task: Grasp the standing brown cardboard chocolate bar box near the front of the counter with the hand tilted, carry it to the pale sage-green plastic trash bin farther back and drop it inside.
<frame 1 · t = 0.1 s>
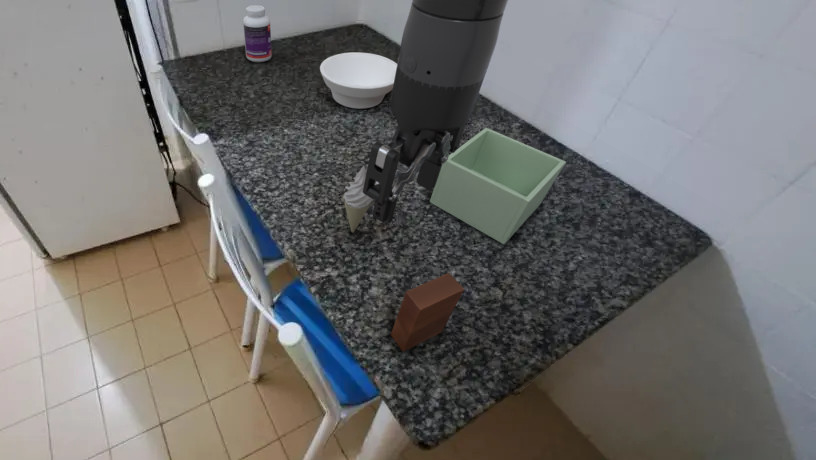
hand: (404, 201, 46), 21 cm above the table, tool pointing down, fingers open, 8 cm apart
chocolate bar: (416, 333, 57), on the table
pill bottle: (259, 59, 123), on the table
ice cream cone: (352, 232, 71), on the table
bread: (436, 123, 98), on the table
trash bin: (484, 203, 77), on the table
bowl: (357, 99, 106), on the table
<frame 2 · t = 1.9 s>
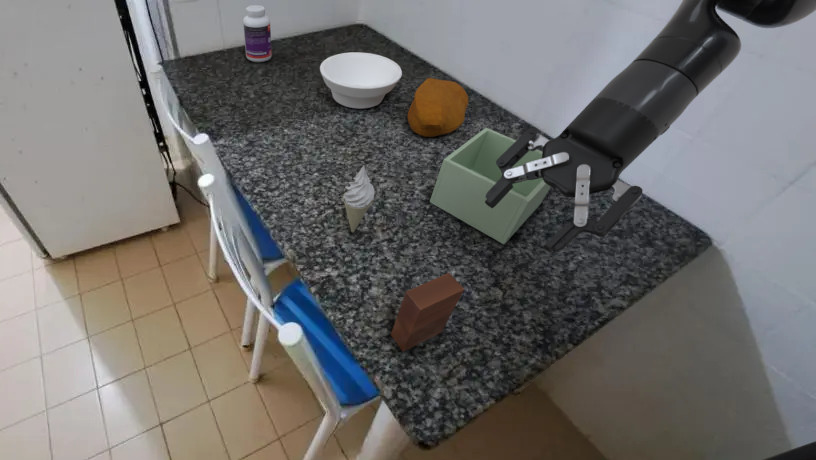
hand: (516, 226, 48), 18 cm above the table, tool tilted 45°, fingers open, 8 cm apart
nothing on the table moved.
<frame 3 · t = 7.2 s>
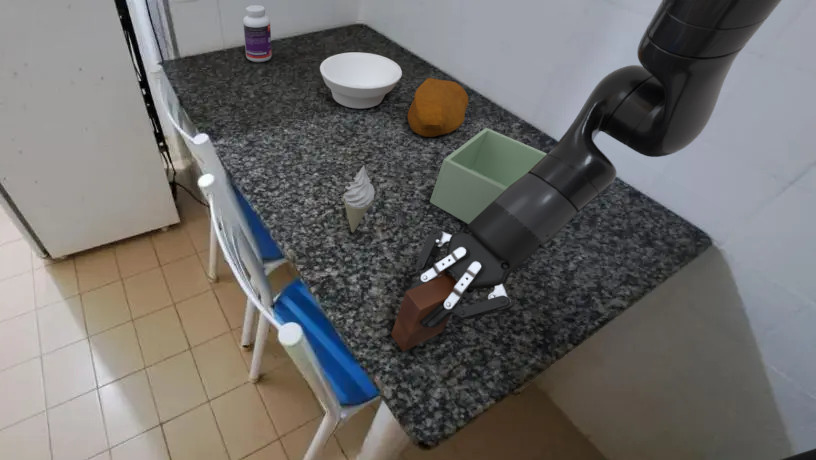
hand: (415, 313, 51), 7 cm above the table, tool tilted 45°, fingers closed on chocolate bar, 3 cm apart
chocolate bar: (416, 333, 57), on the table, touching gripper
everything else where it was.
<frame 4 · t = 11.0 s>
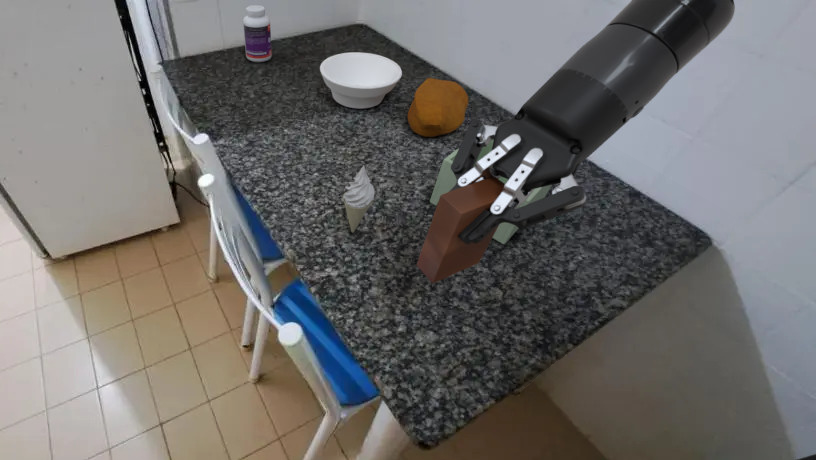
hand: (451, 228, 40), 23 cm above the table, tool tilted 45°, fingers closed on chocolate bar, 3 cm apart
chocolate bar: (447, 264, 46), point 16 cm above the table, touching gripper
everything else where it was.
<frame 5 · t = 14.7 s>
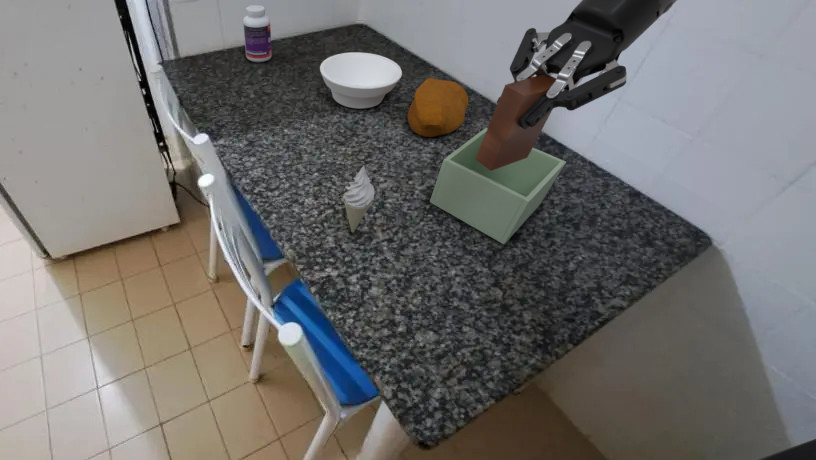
hand: (510, 117, 49), 26 cm above the table, tool tilted 45°, fingers closed on chocolate bar, 3 cm apart
chocolate bar: (501, 158, 55), point 19 cm above the table, touching gripper
everything else where it was.
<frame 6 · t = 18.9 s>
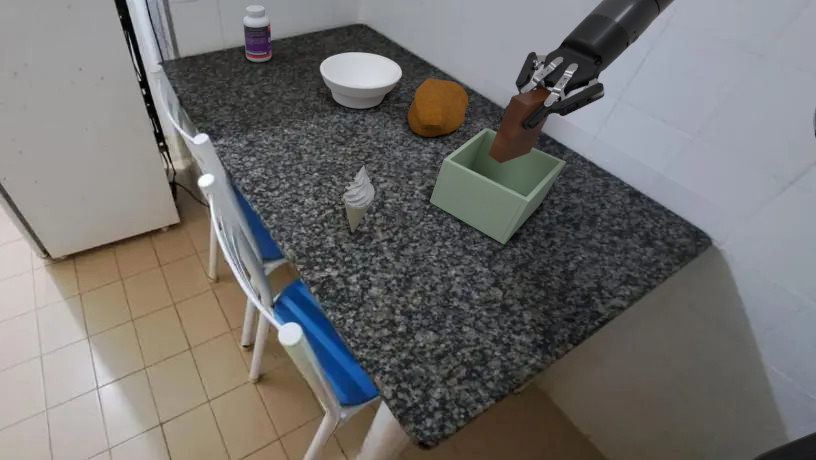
hand: (516, 121, 63), 19 cm above the table, tool tilted 45°, fingers closed on chocolate bar, 3 cm apart
chocolate bar: (508, 153, 69), point 12 cm above the table, touching gripper
everything else where it was.
when the fingers open (8 cm above the table, at t = 22.2 s): chocolate bar stays where it is, resting on trash bin.
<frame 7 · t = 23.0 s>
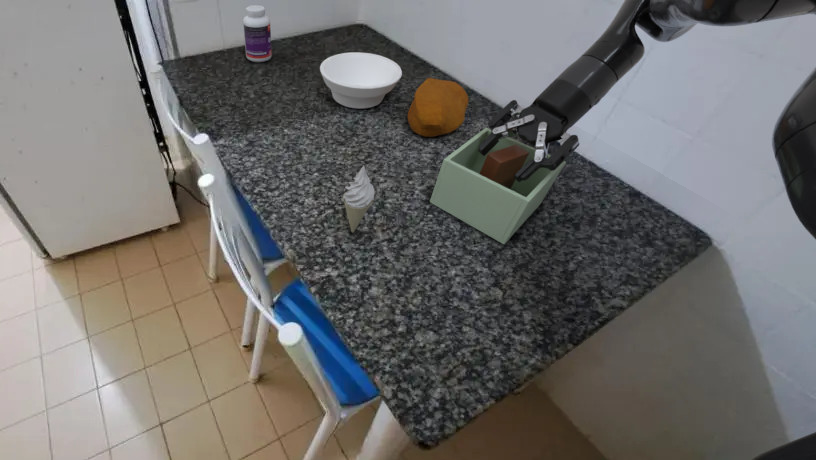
hand: (497, 165, 70), 10 cm above the table, tool tilted 45°, fingers open, 8 cm apart
chocolate bar: (486, 199, 77), point 1 cm above the table, touching trash bin
everything else where it was.
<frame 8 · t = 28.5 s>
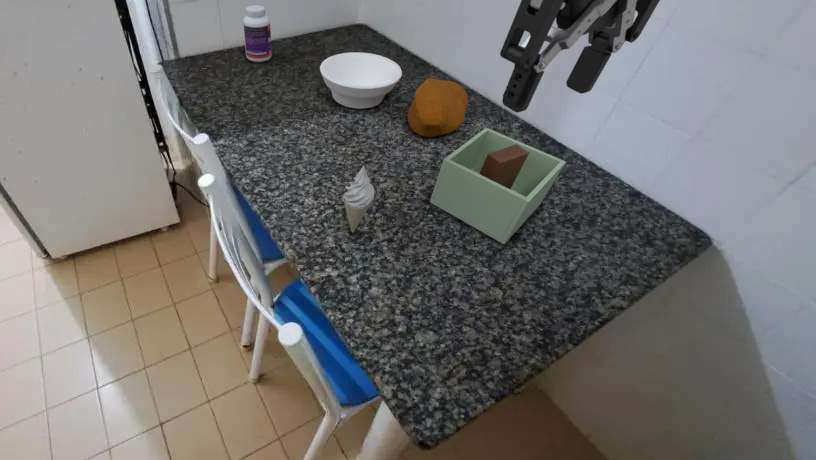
hand: (545, 98, 36), 34 cm above the table, tool pointing down, fingers open, 8 cm apart
nothing on the table moved.
at the end: chocolate bar inside the target area in the trash bin (0.2 cm from its centre), point 0.8 cm above the trash bin's base; the gripper is holding nothing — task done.
